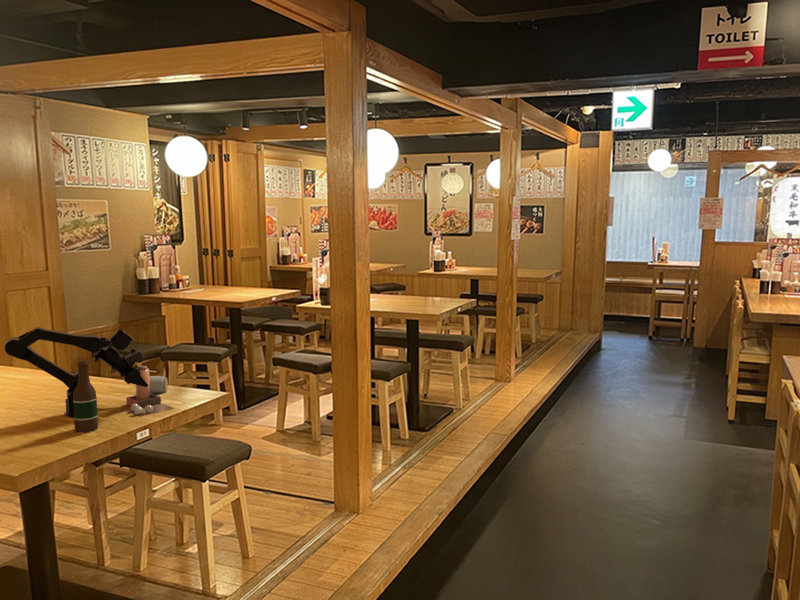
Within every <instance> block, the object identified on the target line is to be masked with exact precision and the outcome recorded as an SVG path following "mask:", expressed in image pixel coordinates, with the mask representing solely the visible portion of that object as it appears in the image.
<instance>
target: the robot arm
mask: <svg viewBox="0 0 800 600" xmlns="http://www.w3.org/2000/svg"><path fill="white" fill-rule="evenodd" d="M39 340H41V341H47V342H53V343H58V344H64V345H68V346H69V345H71V346H75V347H77V348H79V349H82V350H84V351H87V352H91V353H93V354H92V355H93V361H94V362H98V361H99V359H100V360H101V361H103V362H104V363H105V364H107V365H108V366H109V367H110V368H111V369H112V370H113V371H116V373H118V374H119V375H120V376H121V377H123V381H124V382H125V383H127V384H128V385H130V384H132V385H135V386H136V385H139V386H143V387H147V386H148V384H147V383H146V382H145V380H144V379H143V378H142V377H141V376H140V372H141V371H140V370H139V369H138V368H137V367H138V365H137V364H136V363H137V362H140V361H141V360H144V359H145V356H144V354H143V352H142V351H141V349H135V348H131V349H129V353H128V354H127V355H124V354H121V353H120V351H124V350H126V349H127V348H128V347H129V346H130V344H132V343H133V342H134V341H135V339H134V338H133V337H132V336H131V335H130V334H129V333H128V332H126V331H124V330H122V329H121V328H118V329H117V330H116V332H115V333H114V334H113V335H112V336H111V337H110V338H109V337H100V335H97V334H91V333H90V334H87V333H85V334H75V333H69V332H62V331H59V330H58V331H57V330H54V329H53V330H52V329H46V328H42V327H41V326H37V327H34V328H33V329H31V330H29V331H27V332H25V333H23V334H21V335H19V336H14V337H10V338H8V339H7V340H6V342H5V345H4V351H5V354H7V355H8V356H11V357H13V358H16V359H19V360H23V361H26V362H28V363H30V364H31V365H33V366H34V367H37V368H38V369H40V370H42V371H44V372H45V373H47V374H49V375H50V376H51V377H53V378H56V379H57V380H59V381H60V382H62V383H63V385H65V386H66V387H67V390H66V398H65V412H64V415H65V416H67V417H69V418H71V419H73V418H74V407H73V393H74V390H75V388H76V386H77V385H78V370H76V371H75V373H73V372H70V371H68V370H66V369H64V368H63V367H61V366H59V365H58V364H56V363H54V362H53V361H51V360H49V359H47V358H46V357H44V356H43V355H42V354H39V353H38V352H37V351H35V350H34V349H33V348H32V346H31V345H33V344H34V343H36V342H37V341H39ZM30 346H31V347H30Z"/></svg>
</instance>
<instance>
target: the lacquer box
mask: <svg viewBox="0 0 800 600" xmlns="http://www.w3.org/2000/svg"><path fill="white" fill-rule="evenodd" d="M161 398H162V397H161V396H159V395H158V394H151V393H150V399H147V400H142V401H137V400H136V395H132V396H127V397H125V399H126V405H127V406H129V407H131V406H132V404H138V405H139V407H142V408H144V407H146V406H147V405H151V406H153V405H157V404H161V403H162V400H161Z"/></svg>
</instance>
